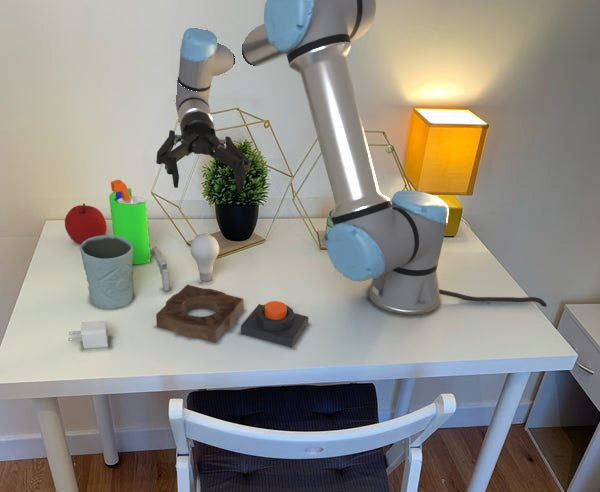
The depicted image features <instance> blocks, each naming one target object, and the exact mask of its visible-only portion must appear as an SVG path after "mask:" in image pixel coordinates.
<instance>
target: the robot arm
mask: <svg viewBox="0 0 600 492" xmlns="http://www.w3.org/2000/svg"><path fill="white" fill-rule="evenodd" d="M263 10H264V11H263V23H262V24H260V25H257V26H255V27H254V28H255V29H254V30H252V31H251V32H250V33H249V34H248V36H247V37H246V38H245V41H244V43H243V44H242V55H243V58H244V59H245V61H246V62H247V63H248V64H250V65H253V66H260V65H264V64H266V63H267V64H270V63H272V62H274V61H277V60H280V59H283V58H286V57H287V58H286V59H287V62H288V66H289V68H290V69H291V70H293V71H294V72H297V73H298V74H299V75H300V78H301V82H302V85H303V89H304V92H305V96H306V100H307V104H308V107H309V111H310V115H311V118H312V122H313V126H314V129H315V133H316V137H317V140H318V144H319V147H320V151H321V155H322V159H323V163H324V166H325V170H326V173H327V177H328V181H329V185H330V188H331V193H332V196H333V200H334V203H335V205H334V206H335V207H334V209H333V211H332V213H331V215H330V218H331V222H332V227H331V229H330V230H329V231H328V233H327V239H326V241H325V245H326V246H325V247H326V252H327V255H328V258H329V260H330V262H331V264H332V266H333V267H334V268H335V270H336V271H337V272H338V273H339V274H341V275H343V277H344V278H346V279H348V280H350V281H353V282H366V281H369V280H371V279H372V280H371V284H370V286H369V291H368V292H369V293H368V295H369V298H370V300H371V301H372V303H373V304H374V305H376V306H377V307H378V308H379V309H382V310H384V311H386V312H388V313H392V314H395V315H399V316H407V317H409V316H411V317H412V316H413V317H415V316H421V315H426V314H429V313H431V312H433V311H434V310H436V308H437V307H438V304H439V300H440V295H444V296H447V297H448V296H449V297H453V298H457V299H461V300H464V301H469V302H482V303H483V302H484V303H485V302H498V303H499V302H502V303H504V302H505V303H507V302H511V303H527V302H528V303H529V302H532V303H533V302H534V303H538V304H540V305H541V306H542V307H544V308H546V307H548V305H547V302H546V301H545V300H543V299H541V298H540V297H536V296H524V297H514V296H512V297H511V296H471V295H466V294H462V293H459V292H454V291H450V290H445V289H440V285H439V279H438V271H437V270H438V266H439V261H440V257H441V253H442V247H443V243H444V238H445V235H446V229H447V225H448V223H449V222H448V220H449V213H450V208H449V206H448V204H447V203H446V202H445V201H444V200H443V199H442V198H440V197H437V196H436V195H432V194H430V193H427V192H423V191H417V190H410V189H409V190H407V189H406V190H405V189H404V190H399V191H396V192H394V194H393V195H392V198H391V199H390V197H388V196H386V195H385V194H383V193H382V192H381V191H380V188H379V185H378V181H377V177H376V172H375V168H374V166H373V160H372V157H371V153H370V149H369V145H368V141H367V137H366V133H365V129H364V125H363V120H362V117H361V113H360V109H359V105H358V101H357V98H356V94H355V90H354V86H353V82H352V77H351V74H350V70H349V65H348V62H347V56H348V54H349V52H350V50H351V49H352V42H353V41H356V40H358V39H360V38H361V37H363V36H364V35H365V34H366V33H367V32H368V31H369V30H370V28H371V26H372V24H373V22H374V20H375V16H376V12H377V0H266V2H265V3H264V9H263ZM198 28H199V27H198ZM198 28H191V27H189V28H187V29H185V31H184V32H183V35H182V38H181V44H180V49H179V54H180V55H179V64H178V65H179V66H178V67H179V69H178V75H179V76H178V75H177V79H178V80H177V79H176V81H177V95H176V103H175V107H176V112H177V113H176V114H177V118H178V123H179V128H180V134H176V132H175V130H172V129H170V130H169V131H168V137H167V138H166V140H164V142H163V143H162V145H161V146H160V147H159V149H158V150H157V152H156V161H155V162H156V164H157V165H162V164H163V165H164V169H165V170H166V174H167V175H171V177H172V178H171V179H172V184H173V188H174V189H178V188H179V181H180V174H179V168H178V162H179V161H180V160H182V159H183V158H184V157H188V156H190V155H192V154H194V155H205V156H209V157H211V158H212V159H217V160H219V162H222V163H223V164H224V165H225V166H227V167H228V168H230V169H231V170H232V171H233V177H234V181H235V186H236V189H237V193H238V194H242V193H243V188H244V184H245V179H246V176H247V175H246V174H247V173H249V172H250V169H251V165H252V160H250V158H249V157H248V156H246V154H245V153H244V152H242V150H241V149H240V148H238V146H236V144H234V142H233V140H232V138H231V137H230V136H228V135H227V136H225V137H224V139H219V137H218V136H217V133H216V128H215V124H214V119H213V117H212V112H211V108H210V104H209V98H210V90H211V87H212V82H213V77H217V76H221V75H220V74H223V73H225V72H227V71H228V70H230V69H231V68H232V67H233V65H234V64H235V58H234V57H235V56H234V54H233V53H232V52H231V51H230V49H228V48H227V47H226V46H224V45H221V44H219V43H217V38H218V37H217V35H216V34H215V33H214V32H212V31H211V30H209V29H207V30H203V29H198ZM208 30H209V31H208ZM267 64H266V65H267ZM179 83H180V84H181V85H182V86H181V85H180V84H179ZM184 87H185V88H184ZM188 89H189V90H188ZM191 90H192V91H191ZM196 91H197V92H196ZM179 142H180V144H179V145H177V144H178V143H179ZM174 146H175V147H174Z"/></svg>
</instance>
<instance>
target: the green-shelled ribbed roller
mask: <svg viewBox="0 0 600 492" xmlns="http://www.w3.org/2000/svg"><path fill="white" fill-rule="evenodd" d="M110 187H111V192H110V194H109V196H108V198H109V207H110V217H111V224H112V226H111V227H112V235H114V236H119V237H122V238H125V239H127V240H128V241H130V242H131V244H132V246H133V257H132V265H142V264H147V263H150V262H151V257H152V246H151V244H150V242H149V241H150V239H149V235H150V234H149V227H148V226H149V225H148V222H149V221H148V213H147V212H148V209H147V201H146V199H145V198H143V197H141V196H135V195H132V188H128V186H127V185H126V183H125V182H123V181H122V180H121V179H115V180H111V181H110Z"/></svg>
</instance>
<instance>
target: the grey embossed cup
mask: <svg viewBox="0 0 600 492" xmlns="http://www.w3.org/2000/svg"><path fill="white" fill-rule="evenodd" d="M79 252H80V256H81V259H82V264H83V270H84V271H85V276H86V281H87V284H88V287H87V288H88V293H89V296H90V300H91V303H92V304H93V305H94V306H95V307H98V308H100V309H105V310H114V309H120V308H124V307H126V306H127V305H129V304H130V303H131V302H132V301H133V298H134V277H133V275H134V273H133V264H132V257H133V246H132V244H131V242H130V241H128V240H127V239H125V238H122V237H119V236H114V235H113V234H105V235H101V236H95V237H92V238H89V239H87V240H85V241H84V242H83V243H82V244H80V245H79Z"/></svg>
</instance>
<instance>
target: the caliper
mask: <svg viewBox="0 0 600 492" xmlns="http://www.w3.org/2000/svg"><path fill="white" fill-rule="evenodd" d="M151 250H152V253H153V256H154V258H155V261H156V263H157V266H158V268H159V273H160V275H161V281H162V287H163V290H164V292H169V291H170V280H169V271H168V266H167V261H165V260H164V259H163V257H162V255H161V252H160V251H159V248H158V246H157V245H153V246H151Z"/></svg>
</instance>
